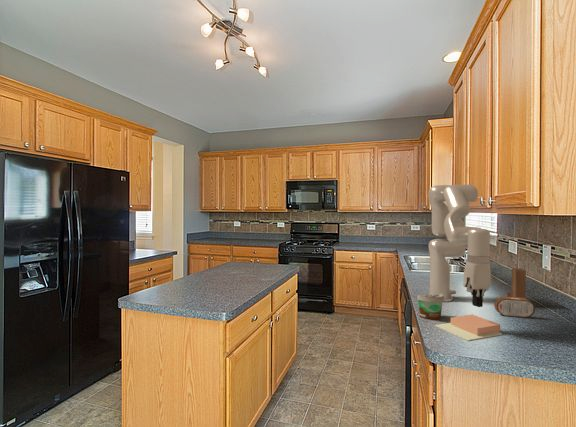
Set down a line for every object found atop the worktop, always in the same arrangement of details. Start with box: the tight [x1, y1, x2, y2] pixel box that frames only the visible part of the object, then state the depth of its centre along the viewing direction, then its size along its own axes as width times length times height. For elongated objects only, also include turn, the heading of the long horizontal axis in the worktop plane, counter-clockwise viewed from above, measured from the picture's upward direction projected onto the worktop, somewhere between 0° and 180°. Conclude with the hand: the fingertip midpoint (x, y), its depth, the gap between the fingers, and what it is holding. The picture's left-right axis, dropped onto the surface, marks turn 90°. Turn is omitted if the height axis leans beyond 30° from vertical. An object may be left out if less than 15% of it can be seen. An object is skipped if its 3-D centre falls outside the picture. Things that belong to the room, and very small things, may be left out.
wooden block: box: [506, 268, 527, 298], centre depth 156 cm, size 9×4×18 cm, turn 166°
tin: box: [493, 295, 536, 319], centre depth 138 cm, size 15×3×8 cm, turn 75°
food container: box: [416, 293, 444, 321], centre depth 135 cm, size 12×6×10 cm, turn 105°
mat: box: [434, 322, 503, 342], centre depth 122 cm, size 18×15×1 cm
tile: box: [450, 313, 501, 336], centre depth 123 cm, size 3×12×12 cm
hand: (477, 305), depth 123 cm, fingers closed
